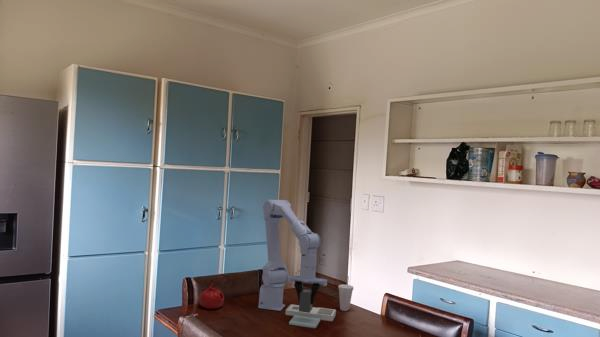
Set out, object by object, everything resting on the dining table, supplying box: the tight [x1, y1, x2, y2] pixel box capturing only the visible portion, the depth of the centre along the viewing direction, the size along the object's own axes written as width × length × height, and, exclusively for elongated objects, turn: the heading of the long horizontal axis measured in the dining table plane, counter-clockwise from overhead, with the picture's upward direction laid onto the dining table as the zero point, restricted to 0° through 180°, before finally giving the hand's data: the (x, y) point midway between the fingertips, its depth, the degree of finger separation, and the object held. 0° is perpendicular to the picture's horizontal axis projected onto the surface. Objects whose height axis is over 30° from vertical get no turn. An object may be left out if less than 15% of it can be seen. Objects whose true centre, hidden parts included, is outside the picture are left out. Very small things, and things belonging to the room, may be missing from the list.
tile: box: [288, 315, 321, 329], centre depth 163 cm, size 10×9×1 cm
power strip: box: [285, 303, 337, 322], centre depth 173 cm, size 18×9×2 cm, turn 77°
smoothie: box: [338, 275, 354, 312], centre depth 183 cm, size 6×6×14 cm
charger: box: [298, 288, 314, 313], centre depth 163 cm, size 4×6×7 cm
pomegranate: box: [199, 282, 225, 310], centre depth 175 cm, size 10×10×9 cm
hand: (306, 302), depth 163 cm, fingers closed on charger, 4 cm apart
